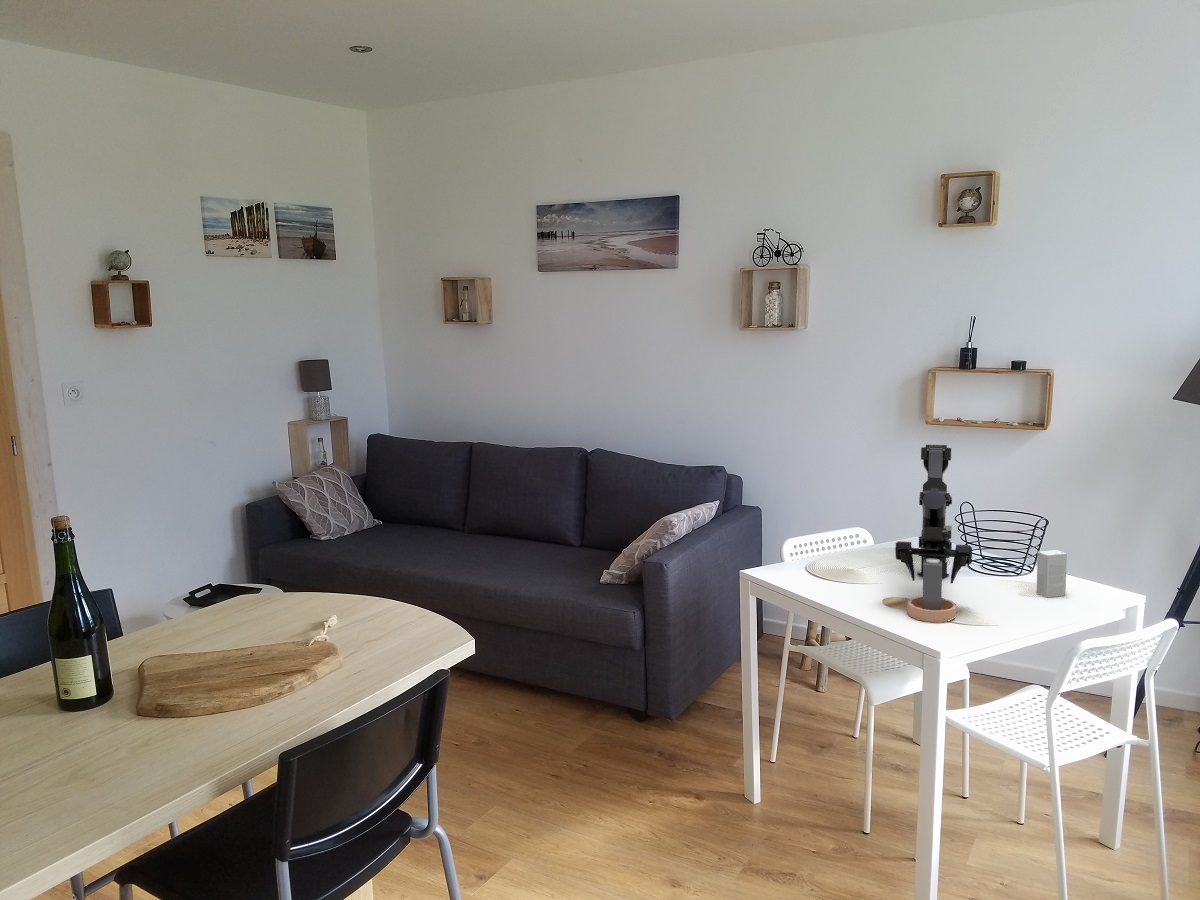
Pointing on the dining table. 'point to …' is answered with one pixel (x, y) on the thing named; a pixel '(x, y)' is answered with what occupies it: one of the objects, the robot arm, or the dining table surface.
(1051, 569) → the skincare box
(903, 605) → the cork coaster
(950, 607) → the ring dish
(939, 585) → the canister
